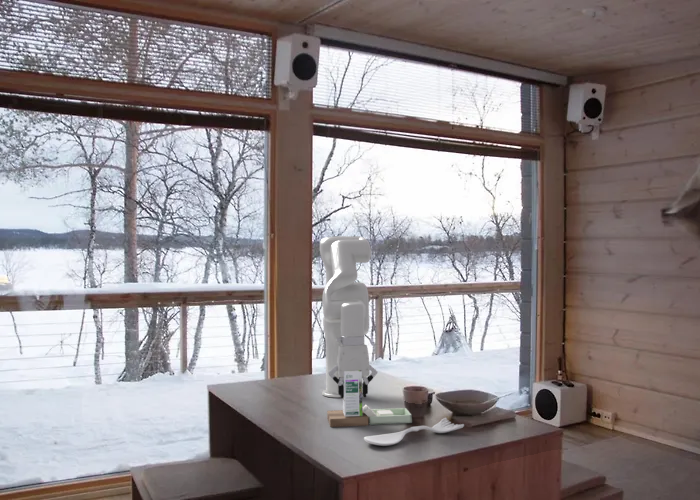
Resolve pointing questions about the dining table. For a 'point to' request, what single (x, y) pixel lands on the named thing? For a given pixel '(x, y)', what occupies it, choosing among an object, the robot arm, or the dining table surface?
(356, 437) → the dining table surface
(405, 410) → the tray
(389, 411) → the tile
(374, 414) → the tile
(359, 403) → the syrup box
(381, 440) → the spoon
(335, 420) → the board
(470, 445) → the dining table surface
